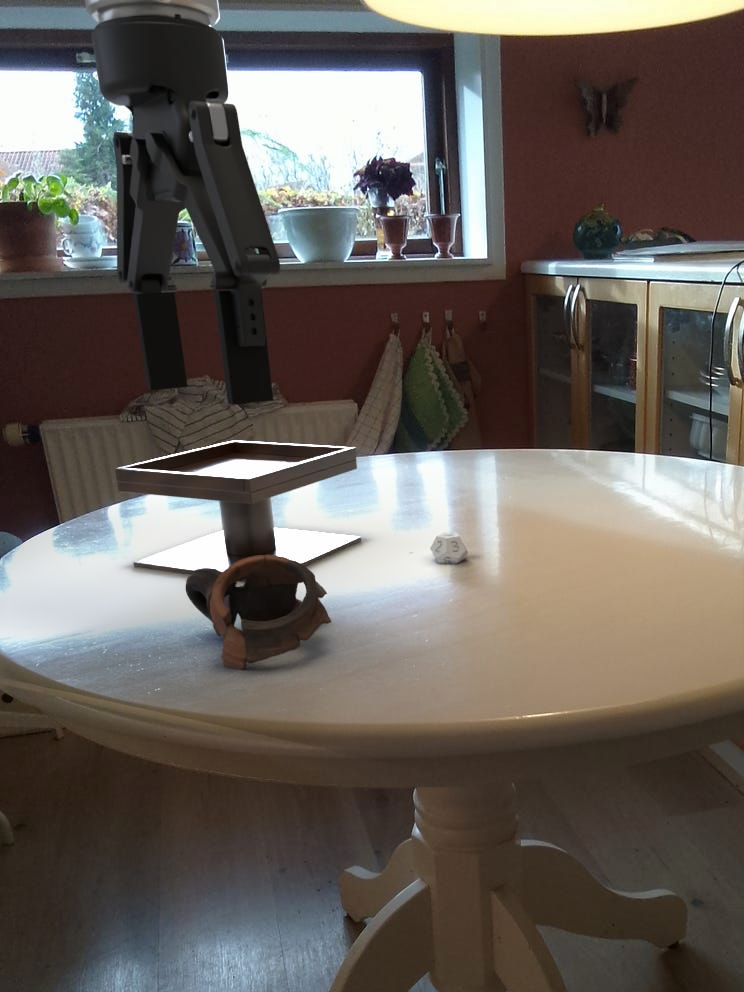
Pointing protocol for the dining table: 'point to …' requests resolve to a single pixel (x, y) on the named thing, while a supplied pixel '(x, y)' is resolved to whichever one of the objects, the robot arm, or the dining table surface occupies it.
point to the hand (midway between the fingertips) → (206, 395)
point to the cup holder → (241, 500)
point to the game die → (449, 548)
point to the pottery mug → (258, 606)
